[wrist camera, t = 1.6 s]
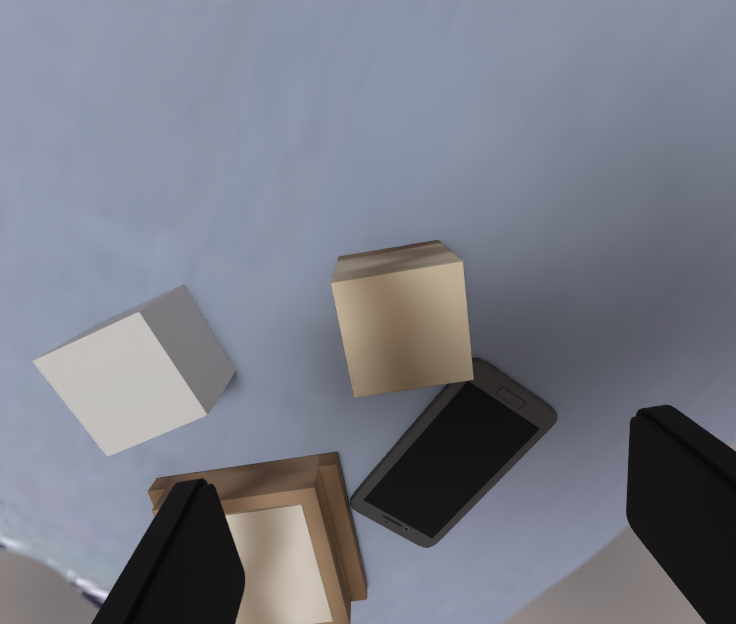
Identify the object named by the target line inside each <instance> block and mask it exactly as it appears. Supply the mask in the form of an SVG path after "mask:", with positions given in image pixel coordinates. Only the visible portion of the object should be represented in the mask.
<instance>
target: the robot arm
mask: <svg viewBox="0 0 736 624" xmlns="http://www.w3.org/2000/svg"><path fill="white" fill-rule="evenodd" d="M626 515H627V519H628V522H629V524H630V526H631V528H632V529H633V531H634V533H635V534H636V535H637V536H638V538H639V539H640V540H641V541H642V543H643V544H644V545H645V547H646V548H647V549H648V550H649V552H650V553H651V554H652V555H653V557H654V558H655V559H656V560H657V562H658V563H659V564H660V565H661V567H662V568H663V569H664V571H665V572H666V573H667V574H668V576H669V577H670V578H671V579H672V581H673V582H674V583H675V585H676V586H677V587H678V588H679V590H680V591H681V592H682V593H683V595H684V596H685V597H686V598H687V600H688V601H689V602H690V604H691V605H692V606H693V607H694V609H695V610H696V611H697V612H698V614H699V615H700V616H701V617H702V619H703V620H704V621H705V623H706V624H736V451H734V450H733V449H732V448H730V447H729V446H727V445H726V444H725V443H723V442H722V441H720V440H719V439H718V438H716V437H715V436H713V435H712V434H711V433H709V432H708V431H706V430H705V429H704V428H702V427H701V426H699V425H698V424H697V423H695V422H694V421H692V420H691V419H690V418H688V417H687V416H685V415H684V414H683V413H681V412H680V411H678V410H677V409H676V408H674V407H672V406H670V405H662V406H655V407H649V408H643V409H640V410H638V412H637V413H636V417H633V418H632V419H631V421H630V434H629V458H628V481H627V505H626ZM244 589H245V572H244V568H243V565H242V562H241V559H240V557H239V554H238V551H237V548H236V545H235V542H234V539H233V536H232V533H231V531H230V528H229V525H228V522H227V519H226V516H225V513H224V510H223V508H222V505H221V502H220V499H219V496H218V493H217V490H216V488H215V486H214V485H213V484H208V483H207V481H206V480H205V479H203V478H200V479H194V480H187V481H181V482H177V483H175V485H174V486H173V487H172V489H171V491H170V492H169V494H168V496H167V497H166V499H165V501H164V502H163V504H162V506H161V507H160V509H159V511H158V512H157V514H156V516H155V517H154V519H153V521H152V523H151V524H150V526H149V528H148V529H147V531H146V533H145V534H144V536H143V538H142V539H141V541H140V543H139V544H138V546H137V548H136V549H135V551H134V553H133V555H132V556H131V558H130V560H129V561H128V563H127V565H126V566H125V568H124V570H123V571H122V573H121V575H120V576H119V578H118V580H117V581H116V583H115V585H114V587H113V588H112V590H111V592H110V593H109V595H108V597H107V598H106V600H105V602H104V603H103V605H102V607H101V608H100V610H99V612H98V613H97V615H96V617H95V619H94V620H93V622H92V624H235V623H236V619H237V616H238V612H239V608H240V604H241V601H242V597H243V593H244Z"/></svg>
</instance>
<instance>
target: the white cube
mask: <svg viewBox="0 0 736 624" xmlns="http://www.w3.org/2000/svg"><path fill="white" fill-rule="evenodd" d="M33 363H34V364H35V365H36V366H37V368H38V369H39V370H40V372H41V373H42V374H43V375H44V377H45V378H46V379H47V380H48V382H49V383H50V384H51V385H52V387H53V388H54V389H55V391H56V392H57V393H58V394H59V396H60V397H61V398H62V399H63V401H64V402H65V403H66V405H67V406H68V407H69V408H70V410H71V411H72V412H73V413H74V415H75V416H76V417H77V419H78V420H79V421H80V422H81V424H82V425H83V426H84V427H85V429H86V430H87V431H88V433H89V434H90V435H91V436H92V438H93V439H94V440H95V441H96V443H97V444H98V445H99V447H100V448H101V449H102V450H103V452H104V453H105V454H106V455H107V457H108V456H110V455H113V454H115V453H118V452H120V451H122V450H125V449H127V448H130V447H132V446H134V445H137V444H139V443H142V442H144V441H146V440H149V439H151V438H154V437H156V436H159V435H161V434H163V433H166V432H168V431H171V430H173V429H175V428H178V427H180V426H183V425H185V424H187V423H190V422H192V421H195V420H197V419H199V418H202V417H204V416H207V415H208V414H209V412H210V411H211V409H212V408H213V406H214V404H215V403H216V401H217V400H218V398H219V397H220V395H221V394H222V392H223V390H224V389H225V387H226V386H227V384H228V383H229V381H230V380H231V378H232V376H233V375H234V373H235V372H236V370H235V368H234V367H233V365H232V363H231V362H230V360H229V358H228V357H227V355H226V354H225V352H224V350H223V349H222V347H221V345H220V344H219V342H218V340H217V339H216V337H215V336H214V334H213V332H212V331H211V329H210V327H209V326H208V324H207V322H206V321H205V319H204V318H203V316H202V314H201V313H200V311H199V309H198V308H197V306H196V304H195V303H194V301H193V300H192V298H191V296H190V295H189V293H188V291H187V290H186V288H185V286H184V285H181V286H179V287H177V288H175V289H173V290H171V291H168V292H166V293H164V294H162V295H160V296H158V297H155V298H153V299H151V300H149V301H147V302H145V303H142V304H140V305H138V306H136V307H134V308H132V309H130V310H127V311H125V312H123V313H121V314H119V315H117V316H114V317H112V318H110V319H108V320H106V321H104V322H101V323H99V324H97V325H95V326H93V327H92V328H90V329H88V330H86V331H84V332H83V333H81V334H79V335H77V336H76V337H74V338H72V339H70V340H69V341H67V342H65V343H63V344H61V345H60V346H58V347H56V348H54V349H53V350H51V351H49V352H47V353H45V354H44V355H42V356H40V357H38V358H37V359H35V360H33Z"/></svg>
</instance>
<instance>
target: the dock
mask: <svg viewBox="0 0 736 624" xmlns="http://www.w3.org/2000/svg"><path fill="white" fill-rule="evenodd" d="M200 478H203V479H205V480H206V481H207V483H208V484H213V485H214V486H215V488H216V490H217V493H218V496H219V499H220V502H221V505H222V508H223V510H224V513H225V516H226V519H227V522H228V525H229V528H230V531H231V533H232V536H233V539H234V542H235V545H236V548H237V551H238V554H239V557H240V559H241V562H242V565H243V568H244V572H245V589H244V593H243V597H242V601H241V604H240V608H239V612H238V616H237V619H236V623H235V624H350V618H351V601H358V600H366V599H367V581H366V576H365V572H364V568H363V563H362V559H361V554H360V550H359V545H358V541H357V537H356V532H355V528H354V523H353V519H352V514H351V510H350V505H349V501H348V497H347V492H346V488H345V483H344V479H343V474H342V470H341V466H340V461H339V457H338V452H334V453H327V454H320V455H314V456H307V457H300V458H293V459H286V460H279V461H272V462H266V463H259V464H252V465H245V466H238V467H231V468H224V469H218V470H211V471H204V472H197V473H190V474H183V475H176V476H170V477H163V478H156V480H155V481H154V483H153V484H152V486H151V487H150V489H149V490H148V494H149V496H150V498H151V501H152V503H153V505H154V508H153V510H152V512H153V514H154V517H155V516H156V514H157V512H158V511H159V509H160V507H161V506H162V504H163V502H164V501H165V499H166V497H167V496H168V494H169V492H170V491H171V489H172V487H173V486H174V485H175V483H177V482H181V481H187V480H194V479H200Z"/></svg>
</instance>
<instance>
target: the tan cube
mask: <svg viewBox="0 0 736 624" xmlns="http://www.w3.org/2000/svg"><path fill="white" fill-rule="evenodd" d="M331 285H332V290H333V295H334V300H335V305H336V310H337V315H338V320H339V325H340V330H341V335H342V340H343V345H344V350H345V355H346V360H347V365H348V370H349V375H350V380H351V385H352V390H353V395H354V398H357V397H364V396H370V395H377V394H383V393H390V392H396V391H403V390H409V389H416V388H422V387H429V386H436V385H442V384H449V383H455V382H462V381H468V380H474V377H473V366H472V356H471V345H470V334H469V323H468V313H467V302H466V291H465V280H464V269H463V261H462V260H461V259H459V258H458V257H457V256H456V255H455V254H454V253H452V252H451V251H450V250H449V249H448V248H447V247H445V246H444V245H443V244H442V243H441V242H440V241H439V240H435V241H429V242H423V243H417V244H411V245H405V246H399V247H393V248H387V249H381V250H375V251H369V252H363V253H357V254H351V255H345V256H339V258H338V261H337V264H336V268H335V271H334V275H333V278H332V281H331Z"/></svg>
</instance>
